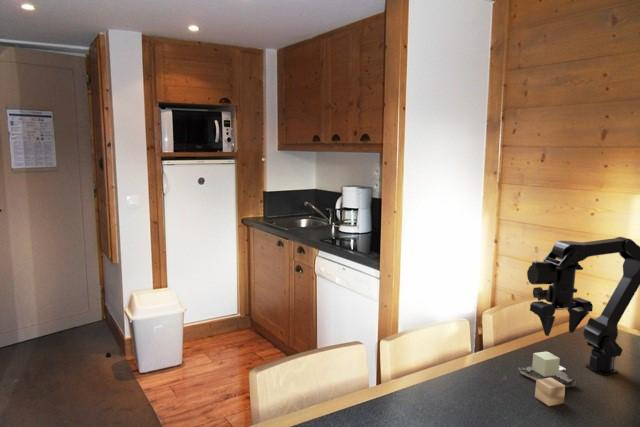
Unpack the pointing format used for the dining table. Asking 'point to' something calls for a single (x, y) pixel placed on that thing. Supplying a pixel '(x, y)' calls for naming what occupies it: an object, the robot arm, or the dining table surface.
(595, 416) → the dining table surface
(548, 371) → the sage block
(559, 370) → the card
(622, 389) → the dining table surface
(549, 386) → the honey block
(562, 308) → the robot arm
